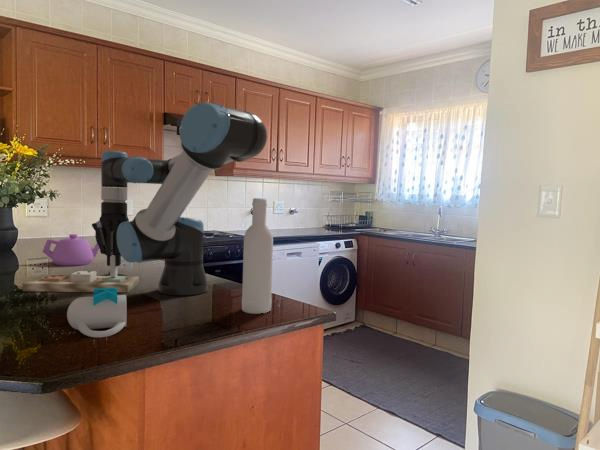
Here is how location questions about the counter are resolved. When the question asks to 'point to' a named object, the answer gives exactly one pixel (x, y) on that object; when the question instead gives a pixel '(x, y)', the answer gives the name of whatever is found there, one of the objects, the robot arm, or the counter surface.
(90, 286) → the button board
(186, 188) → the robot arm
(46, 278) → the terracotta button
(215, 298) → the counter surface
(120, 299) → the mug
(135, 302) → the counter surface
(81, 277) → the cream button
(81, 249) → the teapot
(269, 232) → the bottle
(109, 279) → the sage button
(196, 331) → the counter surface
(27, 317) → the counter surface
